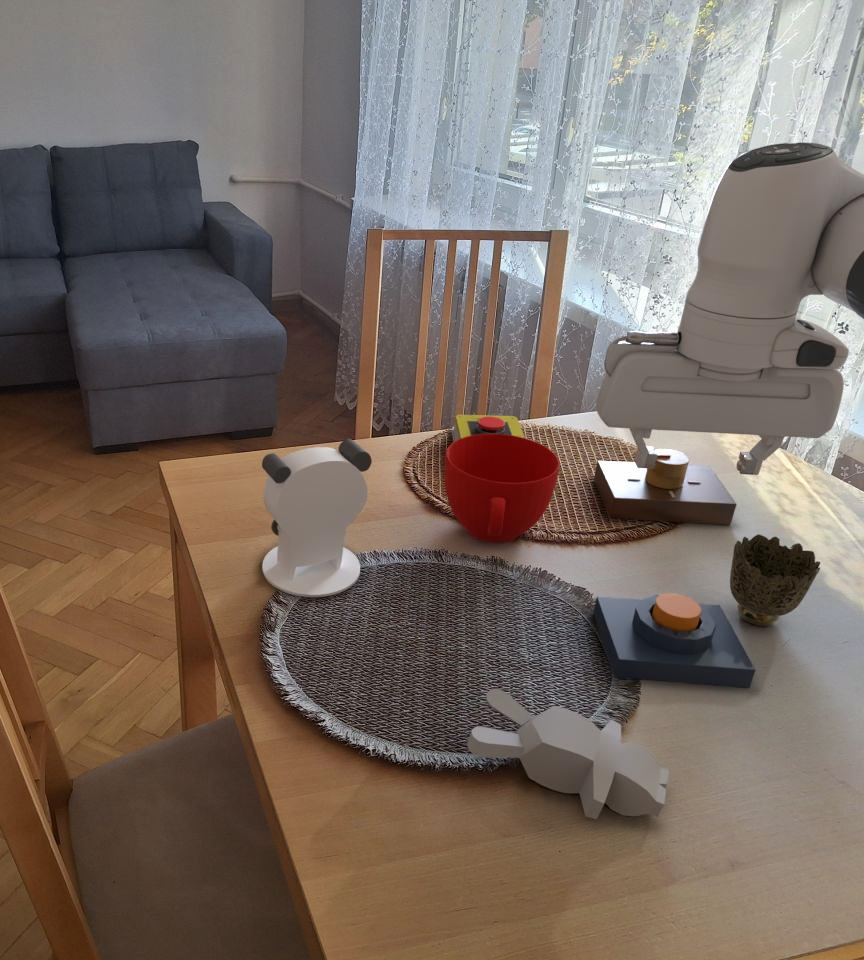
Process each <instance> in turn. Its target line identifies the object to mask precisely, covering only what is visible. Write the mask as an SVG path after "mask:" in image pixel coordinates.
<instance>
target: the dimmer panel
mask: <svg viewBox="0 0 864 960" xmlns="http://www.w3.org/2000/svg"><path fill="white" fill-rule="evenodd" d="M595 466H596V467H595V472H594V476H593V482H594V484H595V487H596V489H597V491H598V493H599V495H600V497H601V500H602V502H603V505H604V507H605V509H606V512H607V514H608V516H609V519H614V520H615V519H616V520H635V521H637V520H638V521H653V522H668V523H669V522H672V523H687V524H708V525H727V526H731V525H732V521H733V518H734V514H735V511H736V508H737V502H736V501H735V500H734V498H733V496H732V495H731V494H730V492H729V490H727V488H726V487H725V485H724V484H723V482H722V481H721V480H720V478H719V477H718V475H717V473H716V472H715V471H714V470H713V468H712V466H711V465H704V464H703V465H701V464H688V467H687V471H686V475H685V479H684V483H683V485H682V486H681V487H680V488H677V489H663V488H659V487H656V486H653V485H651V484H649V483H648V482H647V481H646V479H645V475H646V471H647V469H646V468H637V466H636V464H635V461H634V462H632V461H610V460H597V462H596V465H595Z"/></svg>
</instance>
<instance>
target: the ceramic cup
mask: <svg viewBox="0 0 864 960" xmlns="http://www.w3.org/2000/svg"><path fill="white" fill-rule="evenodd" d="M560 466H561V465H560V461H559V458H558V456H557V455H556V453H554V452H553V451H552V450H551V449H550V448H549V447H546V445H543V444H541V443H539V442H537V441H535V440H532V439H529V438H526V437H525V438H522V437H517V436H513V435H505V434H478V435H471V436H467V437H463V438H461V439H458V440H456V441H455V442H454V441H453V442H452V443H451V444H450V445H449V446H448V447H447V449H446V451H445V455H444V485H445V494H446V498H447V502H448V504H449V507H450V509H451V511H452V514H453V515H454V517H455V518H456V520H457V521H458V523H459V524H460V525H461V526H462V527H463V528H464V529H465V532H466V533H468V534H469V535H470V536H472V537H473V538H475V539H477V540H479V541H483V542H488V543H497V544H501V543H509V542H512V541H514V540H516V539H517V538H519V536H521V535H523V534H524V533H526V532H528V531H529V530H530V529H532V527H534V526H535V525H536V524H537V523H538V522H539V521H540V519H541V518H542V516H543V515H544V513H545V512H546V510H547V509H548V506H549V505H550V503H551V500H552V497H553V494H554V492H555V488H556V485H557V481H558V478H559V477H558V476H559V472H560Z"/></svg>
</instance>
